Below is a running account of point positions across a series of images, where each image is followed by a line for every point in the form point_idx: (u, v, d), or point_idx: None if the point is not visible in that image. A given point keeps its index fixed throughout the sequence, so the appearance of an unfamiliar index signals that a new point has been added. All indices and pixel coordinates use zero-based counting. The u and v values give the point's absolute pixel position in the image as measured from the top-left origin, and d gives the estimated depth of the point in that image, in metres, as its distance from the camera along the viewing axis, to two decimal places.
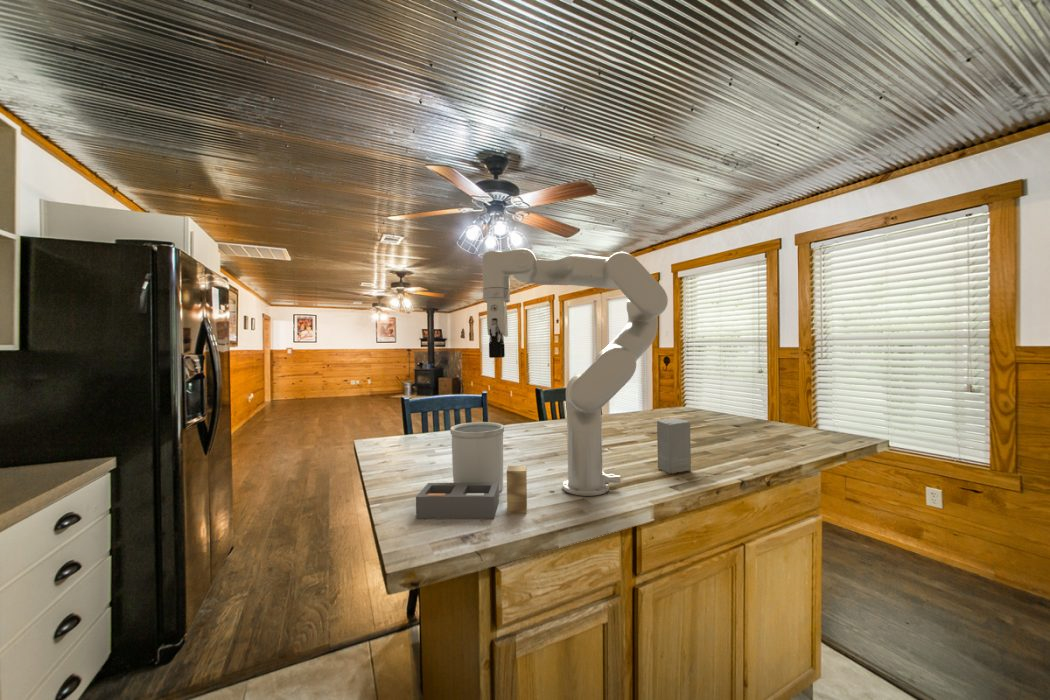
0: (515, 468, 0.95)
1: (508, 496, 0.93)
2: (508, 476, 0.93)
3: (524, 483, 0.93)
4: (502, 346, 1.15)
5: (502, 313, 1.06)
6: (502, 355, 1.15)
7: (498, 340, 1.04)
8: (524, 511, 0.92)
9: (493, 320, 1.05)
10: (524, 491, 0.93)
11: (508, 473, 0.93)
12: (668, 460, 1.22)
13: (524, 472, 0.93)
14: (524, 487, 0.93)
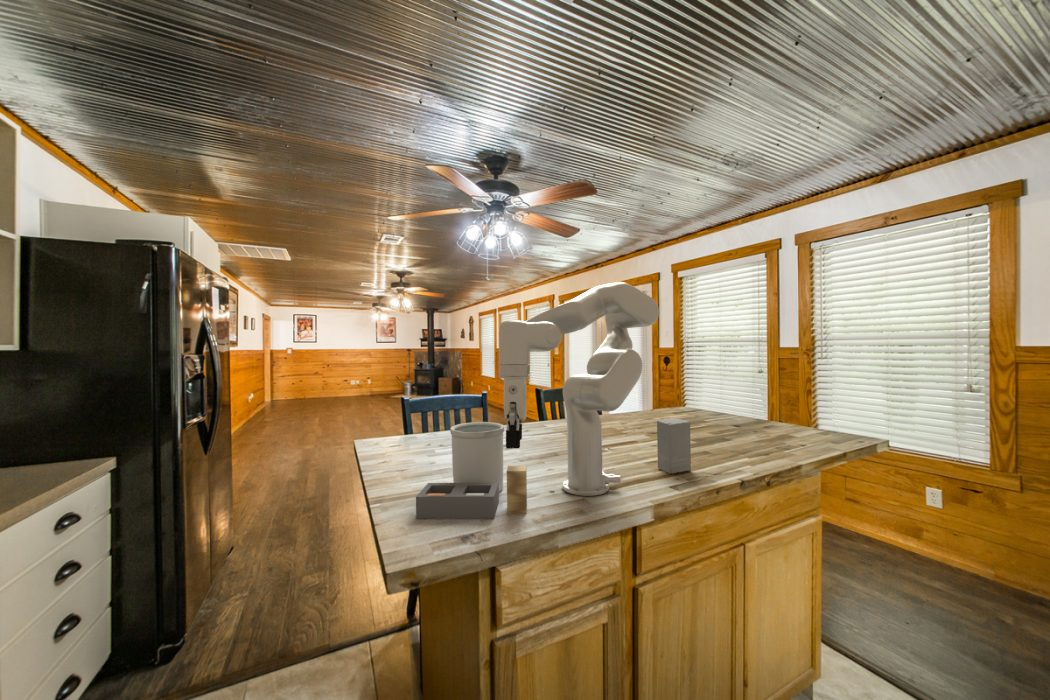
0: (515, 468, 0.95)
1: (508, 496, 0.93)
2: (508, 476, 0.93)
3: (524, 483, 0.93)
4: (519, 427, 0.99)
5: (522, 396, 0.90)
6: (519, 437, 0.99)
7: (517, 429, 0.89)
8: (524, 511, 0.92)
9: (511, 404, 0.89)
10: (524, 491, 0.92)
11: (508, 473, 0.93)
12: (668, 460, 1.22)
13: (524, 472, 0.93)
14: (524, 487, 0.92)
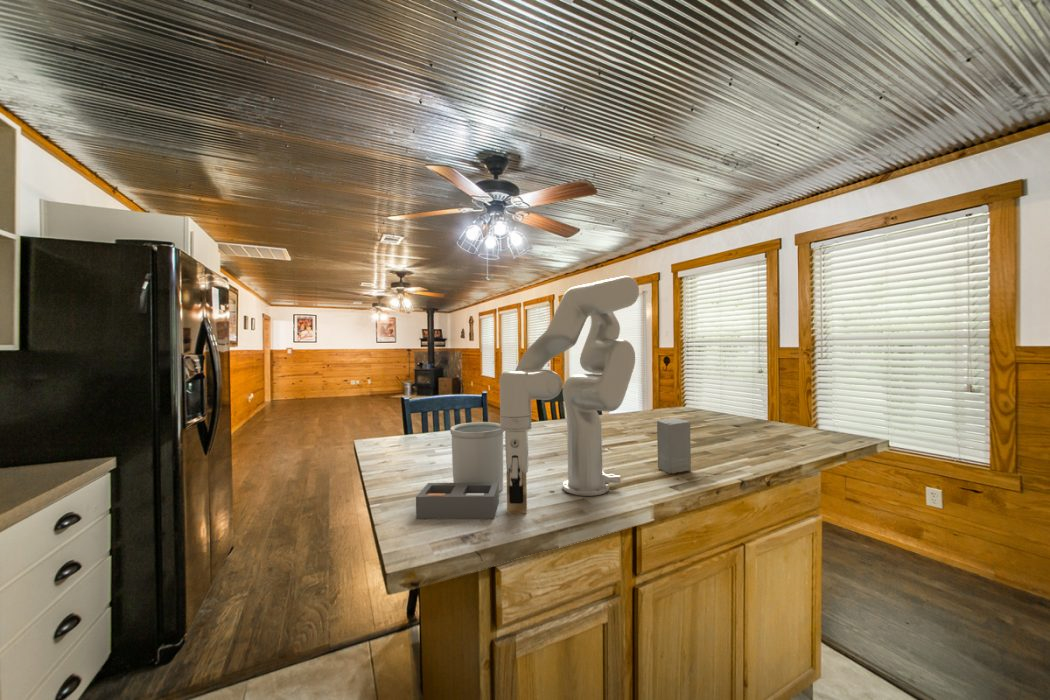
0: None
1: (508, 496, 0.93)
2: (508, 476, 0.93)
3: (524, 483, 0.93)
4: None
5: (524, 449, 0.90)
6: None
7: (520, 485, 0.91)
8: (524, 511, 0.92)
9: (514, 462, 0.90)
10: (524, 491, 0.92)
11: (508, 473, 0.93)
12: (668, 460, 1.22)
13: (524, 472, 0.93)
14: (524, 487, 0.92)
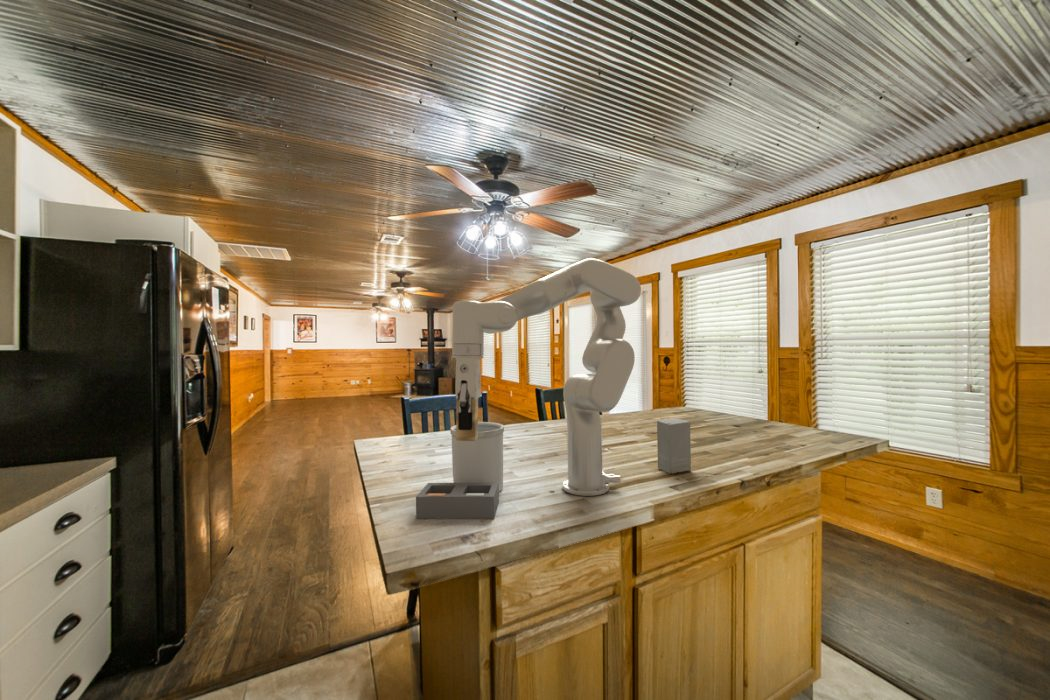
0: (466, 397, 0.96)
1: (457, 423, 0.93)
2: (458, 403, 0.93)
3: (473, 410, 0.93)
4: None
5: (473, 374, 0.91)
6: None
7: (469, 411, 0.92)
8: (473, 438, 0.93)
9: (462, 387, 0.90)
10: (473, 418, 0.93)
11: (458, 400, 0.93)
12: (668, 460, 1.22)
13: None
14: (473, 414, 0.93)
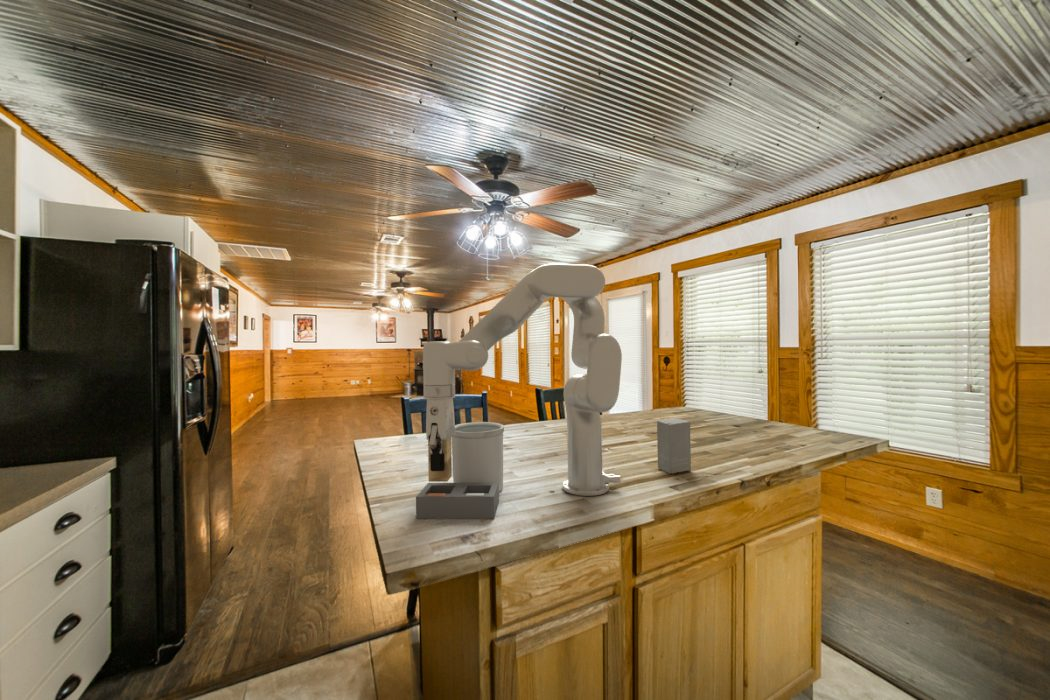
0: None
1: (429, 464, 0.93)
2: None
3: (445, 451, 0.93)
4: None
5: (443, 417, 0.91)
6: None
7: (440, 453, 0.92)
8: (445, 479, 0.93)
9: (433, 429, 0.91)
10: (445, 459, 0.93)
11: (429, 441, 0.93)
12: (668, 460, 1.22)
13: None
14: (445, 455, 0.93)
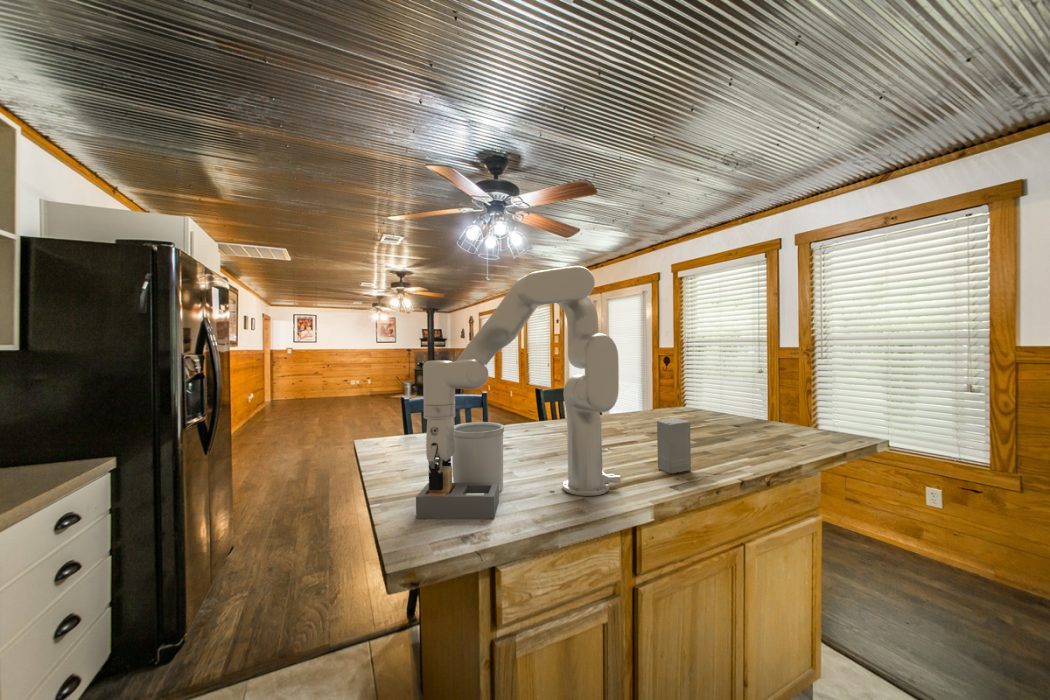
0: None
1: None
2: None
3: (446, 483, 0.93)
4: None
5: (443, 437, 0.91)
6: None
7: (439, 472, 0.90)
8: None
9: (433, 447, 0.90)
10: (446, 491, 0.93)
11: None
12: (668, 460, 1.22)
13: (446, 472, 0.93)
14: (446, 487, 0.93)
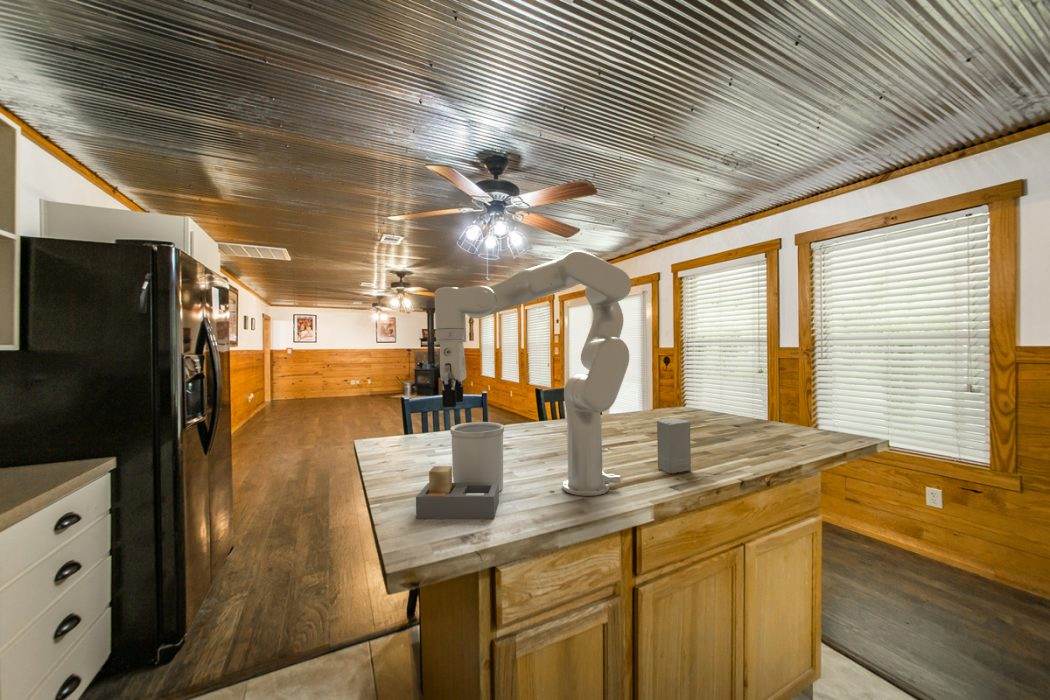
0: (439, 468, 0.96)
1: None
2: (430, 476, 0.93)
3: (446, 483, 0.93)
4: (460, 389, 1.04)
5: (456, 357, 0.95)
6: (460, 399, 1.04)
7: (452, 388, 0.94)
8: None
9: (446, 365, 0.94)
10: (446, 491, 0.93)
11: (430, 473, 0.93)
12: (668, 460, 1.22)
13: (446, 472, 0.93)
14: (446, 487, 0.93)
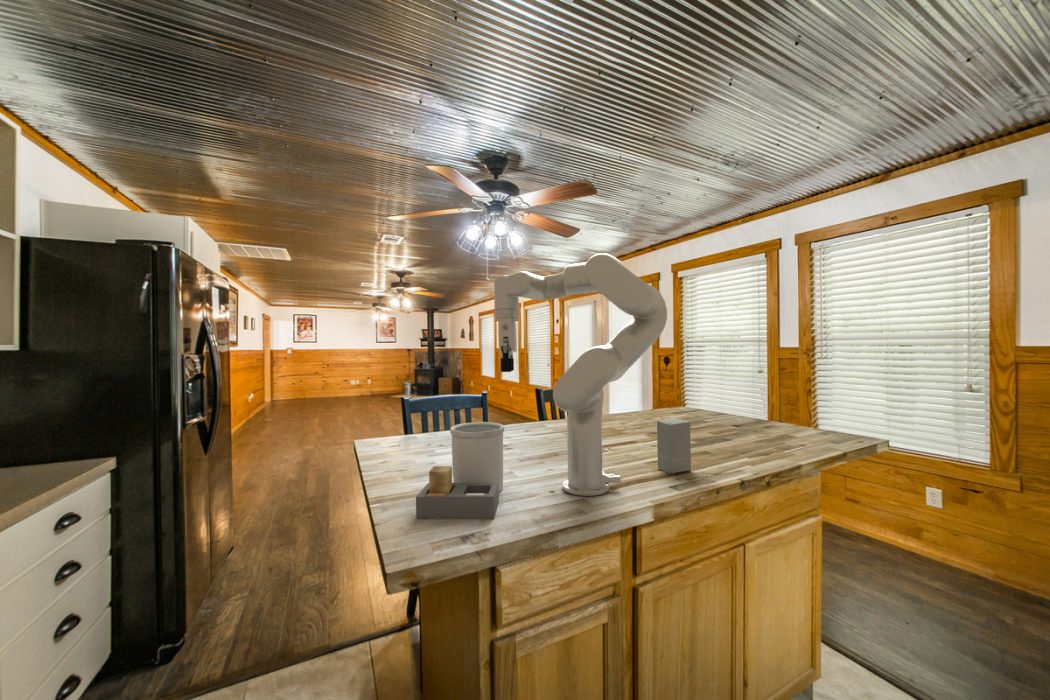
0: (439, 468, 0.96)
1: None
2: (430, 476, 0.93)
3: (446, 483, 0.93)
4: (511, 360, 1.27)
5: (512, 332, 1.18)
6: (511, 368, 1.27)
7: (509, 356, 1.16)
8: None
9: (504, 338, 1.17)
10: (446, 491, 0.93)
11: (430, 473, 0.93)
12: (668, 460, 1.22)
13: (446, 472, 0.93)
14: (446, 487, 0.93)
